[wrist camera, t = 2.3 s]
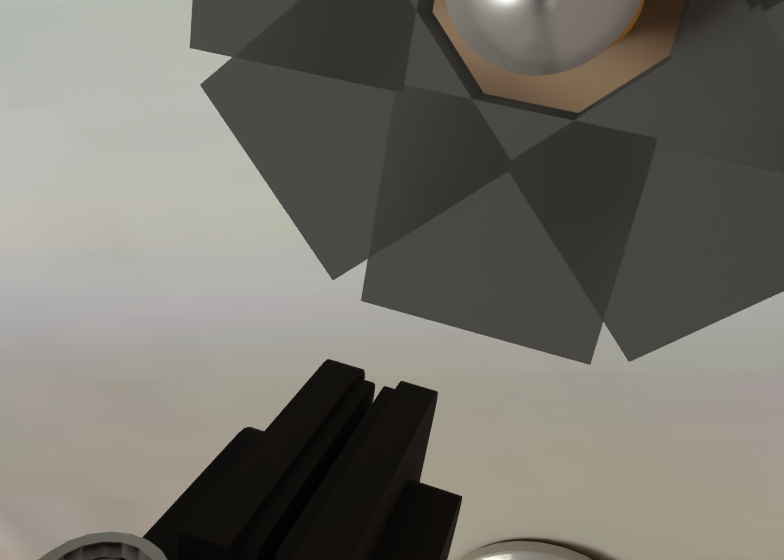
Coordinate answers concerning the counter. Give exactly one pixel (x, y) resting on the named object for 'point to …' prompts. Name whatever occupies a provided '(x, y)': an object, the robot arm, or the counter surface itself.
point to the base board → (586, 81)
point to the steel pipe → (542, 31)
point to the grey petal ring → (516, 170)
